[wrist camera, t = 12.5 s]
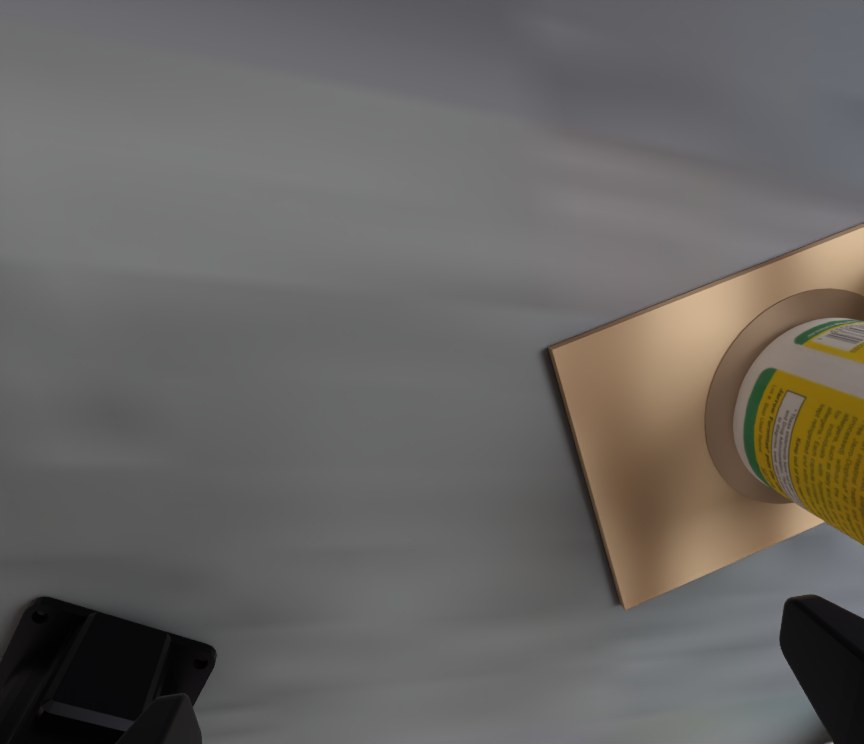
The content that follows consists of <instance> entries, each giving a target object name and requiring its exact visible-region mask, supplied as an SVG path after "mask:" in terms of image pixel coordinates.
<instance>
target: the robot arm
mask: <svg viewBox="0 0 864 744" xmlns="http://www.w3.org/2000/svg"><path fill="white" fill-rule="evenodd" d="M37 611H44V612H46V613H47V614H48V616H42V615H40V614H38V612H37ZM779 640H780V646H781V650H782V652H783V655H784V657H785V659H786V660H787V662H788V664H789V666H790V667H791V669H792V671H793V673H794V674H795V676H796V678H797V680H798V682H799V683H800V685H801V687H802V689H803V690H804V692H805V694H806V696H807V697H808V699H809V701H810V703H811V704H812V706H813V708H814V710H815V712H816V713H817V715H818V717H819V719H820V720H821V722H822V724H823V726H824V727H825V729H826V731H827V733H828V734H829V736H830V738H831V740H832V741H833V743H834V744H864V619H863V618H861V617H859V616H857V615H855V614H853V613H851V612H849V611H848V610H846V609H844V608H842V607H840V606H838V605H836V604H834V603H832V602H830V601H828V600H826V599H824V598H822V597H819V596H817V595H811V594H810V595H803V596H797V597H791V598H788V599H787V601H786V602H785V604H784V609H783V616H782V623H781V630H780V637H779ZM216 656H217V654H216V650H215V649H214V648H213V647H212V646H210V645H208V644H205V643H201V642H198V641H195V640H191V639H188V638H185V637H181V636H178V635H174V634H171V633H168V632H164V631H161V630H158V629H154V628H151V627H148V626H144V625H141V624H138V623H134V622H131V621H128V620H124V619H121V618H118V617H114V616H111V615H107V614H104V613H101V612H97V611H94V610H91V609H87V608H84V607H81V606H77V605H74V604H71V603H67V602H64V601H61V600H57V599H54V598H50V597H40V598H37V599H35V600H33V601H32V602H31V604H30V605H29V606H28V608H27V609H26V611H25V612H24V614H23V616H22V618H21V620H20V622H19V625H18V627H17V629H16V631H15V633H14V635H13V637H12V640H11V642H10V644H9V646H8V648H7V650H6V652H5V654H4V657H3V659H2V661H1V663H0V744H202V736H201V731H200V728H199V725H198V722H197V719H196V716H195V713H194V710H193V706H194V704H195V702H196V700H197V698H198V696H199V694H200V692H201V691H202V689H203V687H204V685H205V683H206V681H207V679H208V677H209V676H210V674H211V672H212V670H213V668H214V665H215V661H216ZM199 657H201V658H205V659H207V660H206V661H198V660H196V659H197V658H199Z"/></svg>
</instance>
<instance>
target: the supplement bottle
mask: <svg viewBox="0 0 864 744" xmlns="http://www.w3.org/2000/svg"><path fill="white" fill-rule="evenodd" d="M733 434H734V442H735V444H736V447H737V451H738V453H739V455H740V457H741V460H742V461H743V463H744V465H745V466H746V467H747V469H748V470H749V471H750V472H751V473H752V474H753V475H754V476H755V477H756V478H757V479H758V480H759V481H761V482H762V483H764V484H765V485H767V486H768V487H770V488H771V489H773V490H774V491H776V492H777V493H779V494H781V495H782V496H784V497H786V498H788V499H789V500H791V501H792V502H794V503H796V504H797V505H799V506H800V507H802V508H803V509H805V510H807V511H808V512H810V513H812V514H813V515H815V516H816V517H818V518H820V519H822V520H823V521H825V522H827V523H828V524H830V525H831V526H833V527H835V528H836V529H838V530H840V531H841V532H843V533H844V534H846V535H848V536H849V537H851V538H853V539H854V540H856V541H858V542H859V543H861V544H863V545H864V321H859V320H854V319H848V318H824V319H817V320H813V321H810V322H806V323H804V324H801V325H798V326H796V327H794V328H792V329H790V330H788V331H787V332H785V333H784V334H782V335H781V336H779V337H778V338H776V339H775V340H774V341H773V342H772V343H770V344H769V345H768V346H767V347H766V348H765V349H764V350H763V351H762V352H761V354H760V355H759V356H758V357H757V358H756V360H755V361H754V362H753V364H752V365H751V367H750V368H749V370H748V372H747V374H746V375H745V377H744V379H743V382H742V384H741V387H740V390H739V393H738V398H737V402H736V406H735V410H734V416H733Z"/></svg>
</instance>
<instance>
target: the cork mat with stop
mask: <svg viewBox="0 0 864 744" xmlns="http://www.w3.org/2000/svg"><path fill="white" fill-rule="evenodd" d="M824 318H848V319H854V320H859V321H864V223H863V224H860V225H858V226H855V227H853V228H850V229H848V230H845V231H842V232H840V233H837V234H835V235H832V236H830V237H827V238H825V239H822V240H820V241H817V242H815V243H812V244H809V245H807V246H804V247H802V248H799V249H797V250H794V251H792V252H789V253H787V254H784V255H781V256H779V257H776V258H774V259H771V260H769V261H766V262H764V263H761V264H759V265H756V266H754V267H751V268H748V269H746V270H743V271H741V272H738V273H736V274H733V275H731V276H728V277H726V278H723V279H720V280H718V281H715V282H713V283H710V284H708V285H705V286H703V287H700V288H698V289H695V290H693V291H690V292H687V293H685V294H682V295H680V296H677V297H675V298H672V299H670V300H667V301H665V302H662V303H660V304H657V305H654V306H652V307H649V308H647V309H644V310H642V311H639V312H637V313H634V314H632V315H629V316H626V317H624V318H621V319H619V320H616V321H614V322H611V323H609V324H606V325H604V326H601V327H599V328H596V329H593V330H591V331H588V332H586V333H583V334H581V335H578V336H576V337H573V338H571V339H568V340H565V341H563V342H560V343H558V344H555V345H553V346H550V347H548V350H549V353H550V357H551V360H552V364H553V367H554V371H555V374H556V378H557V381H558V385H559V389H560V392H561V396H562V399H563V403H564V406H565V410H566V413H567V417H568V420H569V424H570V427H571V431H572V434H573V438H574V441H575V445H576V449H577V452H578V456H579V459H580V463H581V466H582V470H583V473H584V477H585V480H586V484H587V487H588V491H589V494H590V498H591V501H592V505H593V509H594V512H595V516H596V519H597V523H598V526H599V530H600V533H601V537H602V540H603V544H604V547H605V551H606V554H607V558H608V561H609V565H610V569H611V572H612V576H613V579H614V583H615V586H616V590H617V593H618V597H619V600H620V604H621V605H622V607H623V608H624V609H625V610H627V609H630V608H632V607H634V606H636V605H639V604H641V603H643V602H645V601H648V600H650V599H652V598H654V597H657V596H659V595H661V594H663V593H666V592H668V591H670V590H672V589H675V588H677V587H679V586H681V585H684V584H686V583H688V582H690V581H693V580H695V579H697V578H699V577H702V576H704V575H706V574H708V573H711V572H713V571H715V570H717V569H720V568H722V567H724V566H727V565H729V564H731V563H733V562H736V561H738V560H740V559H742V558H745V557H747V556H749V555H751V554H754V553H756V552H758V551H760V550H763V549H765V548H767V547H769V546H772V545H774V544H776V543H778V542H781V541H783V540H785V539H787V538H790V537H792V536H794V535H796V534H799V533H801V532H803V531H805V530H808V529H810V528H812V527H814V526H817V525H819V524H821V523H823V522H825V521H823V520H822V519H820V518H818V517H816V516H815V515H813V514H812V513H810V512H808V511H807V510H805V509H803V508H802V507H800V506H799V505H797V504H796V503H794V502H792V501H791V500H789V499H788V498H786V497H784V496H782V495H781V494H779V493H777V492H776V491H774V490H773V489H771V488H770V487H768V486H767V485H765V484H764V483H762V482H761V481H759V480H758V479H757V478H756V477H755V476H754V475H753V474H752V473H751V472H750V471H749V470H748V469H747V467H746V466H745V465H744V463H743V461H742V460H741V457H740V455H739V453H738V451H737V447H736V444H735V442H734V434H733V416H734V410H735V406H736V402H737V398H738V393H739V390H740V387H741V384H742V382H743V379H744V377H745V375H746V374H747V372H748V370H749V368H750V367H751V365H752V364H753V362H754V361H755V360H756V358H757V357H758V356H759V355H760V354H761V352H762V351H763V350H764V349H765V348H766V347H767V346H768V345H769V344H770V343H772V342H773V341H774V340H775V339H776V338H778V337H779V336H781V335H782V334H784V333H785V332H787V331H788V330H790V329H792V328H794V327H796V326H798V325H801V324H804V323H806V322H810V321H813V320H817V319H824Z"/></svg>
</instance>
